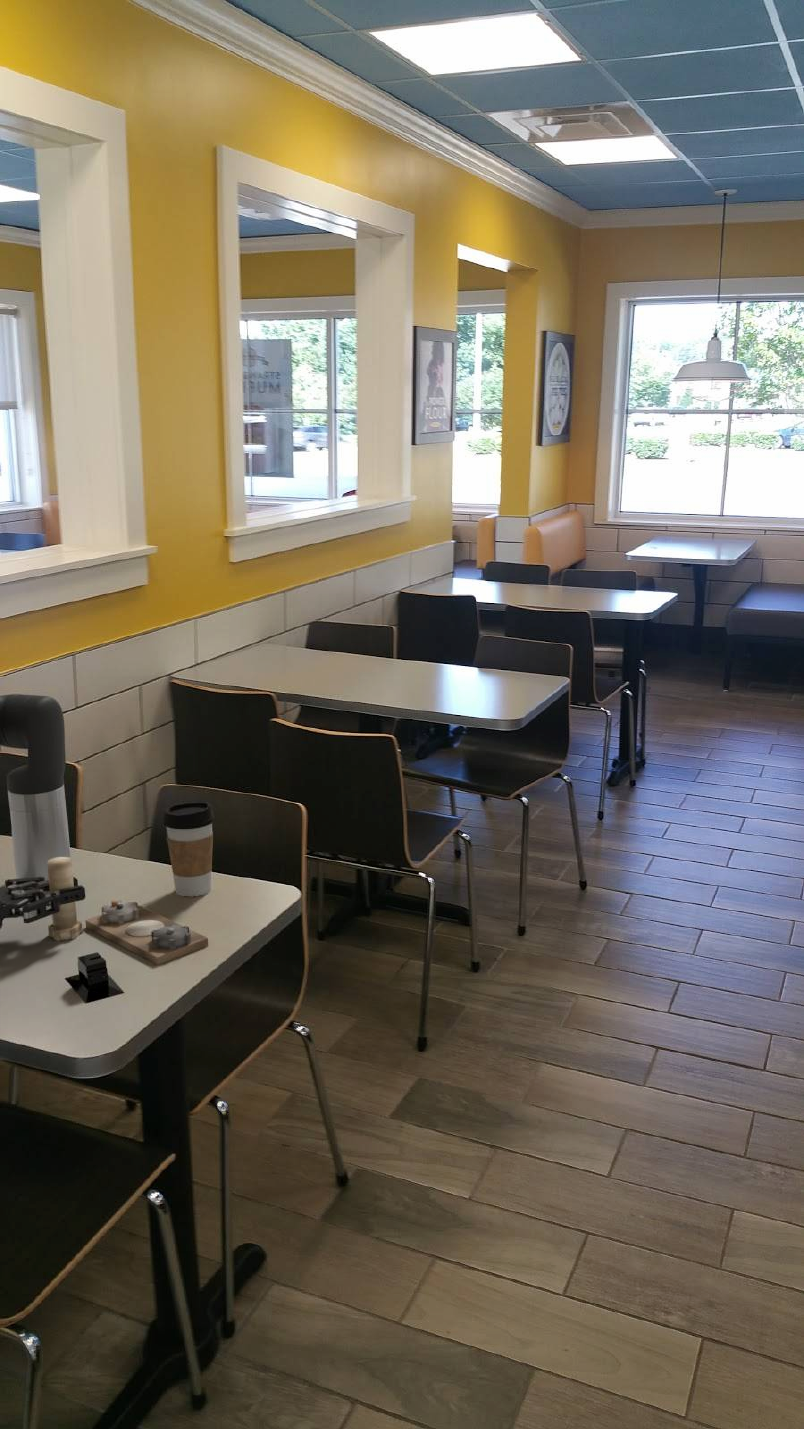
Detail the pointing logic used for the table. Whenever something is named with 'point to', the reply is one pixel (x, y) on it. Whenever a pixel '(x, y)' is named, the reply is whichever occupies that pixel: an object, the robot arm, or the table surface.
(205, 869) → the coffee cup
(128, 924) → the gear board
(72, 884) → the spindle gear
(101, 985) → the black block stand
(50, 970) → the table surface
